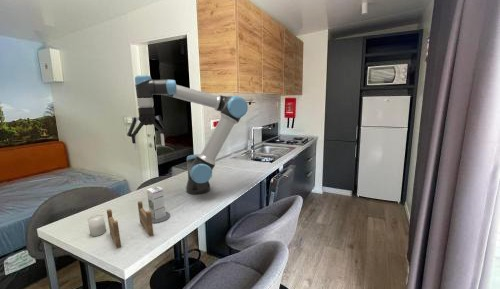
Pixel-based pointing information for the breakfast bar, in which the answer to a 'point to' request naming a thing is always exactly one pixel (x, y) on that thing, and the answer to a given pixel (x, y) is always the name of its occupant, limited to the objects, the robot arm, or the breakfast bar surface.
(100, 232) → the off-white capsule
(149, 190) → the syrup box
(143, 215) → the oak stand
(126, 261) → the breakfast bar surface
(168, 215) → the slate coaster
